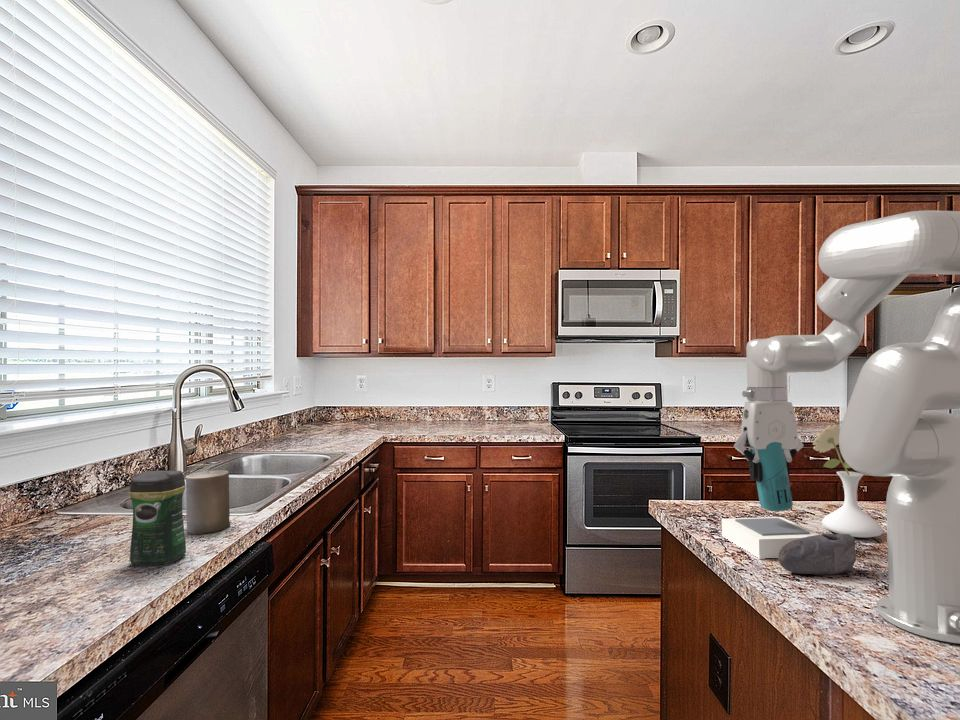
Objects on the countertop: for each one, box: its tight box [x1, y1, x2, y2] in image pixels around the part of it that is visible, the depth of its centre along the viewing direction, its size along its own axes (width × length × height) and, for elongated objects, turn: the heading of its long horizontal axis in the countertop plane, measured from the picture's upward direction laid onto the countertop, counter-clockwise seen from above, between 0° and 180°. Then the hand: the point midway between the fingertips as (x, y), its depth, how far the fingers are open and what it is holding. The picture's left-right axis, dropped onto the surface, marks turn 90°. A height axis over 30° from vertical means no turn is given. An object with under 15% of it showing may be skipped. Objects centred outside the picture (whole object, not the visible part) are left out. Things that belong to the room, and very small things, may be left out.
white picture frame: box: [721, 516, 822, 560], centre depth 107 cm, size 14×14×4 cm
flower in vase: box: [812, 424, 884, 539], centre depth 114 cm, size 13×11×25 cm
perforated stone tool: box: [778, 533, 857, 576], centre depth 93 cm, size 15×5×7 cm, turn 91°
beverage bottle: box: [751, 442, 794, 512], centre depth 108 cm, size 6×7×20 cm
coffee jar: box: [129, 470, 187, 566], centre depth 105 cm, size 10×8×19 cm
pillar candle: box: [185, 468, 231, 535], centre depth 126 cm, size 10×10×15 cm
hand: (769, 479), depth 107 cm, fingers closed on beverage bottle, 5 cm apart
